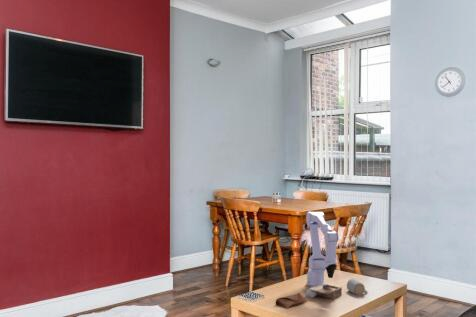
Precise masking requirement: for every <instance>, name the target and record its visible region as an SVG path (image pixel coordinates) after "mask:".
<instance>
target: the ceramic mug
mask: <svg viewBox="0 0 476 317" xmlns="http://www.w3.org/2000/svg"><path fill="white" fill-rule="evenodd" d="M346 289H347V291H348V292H350V293H352V294H354V295H356V296H360V295H363V294H367V293H368V290H367V289H366V287H365V285H364V283H362V282H361V281H359V280H358V279H356V278H350V279H348V281H347V282H346Z"/></svg>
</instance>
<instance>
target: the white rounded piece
mask: <svg viewBox="0 0 476 317" xmlns="http://www.w3.org/2000/svg"><path fill="white" fill-rule="evenodd" d="M315 287H316V286H311V287H310V288H307V289H306V290H305V296H306V297H308V298H311V299H313V298H315V297H317V296H319V295H318V294H319V292H314V291H311V289H313V288H315Z"/></svg>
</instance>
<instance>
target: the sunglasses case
mask: <svg viewBox="0 0 476 317" xmlns="http://www.w3.org/2000/svg"><path fill="white" fill-rule="evenodd" d="M307 302H309V301H308V300H307V299H306V298H305V297H304V296H303V295H302V294H301V293H300V292H298V293H295V294H290V295H288V296H283V297H278V298H277V299H276V300H275V306H278V307H281V308H284V309H286V310H289V309H291V308H293V307H294V308H295V307H297V306H300V305H305V303H307Z"/></svg>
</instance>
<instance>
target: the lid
mask: <svg viewBox="0 0 476 317" xmlns="http://www.w3.org/2000/svg"><path fill="white" fill-rule="evenodd" d="M329 285H330V284H328V283H324V285H323V286H321V285H319V286H317V287H316V286H314V287H315V288H313V289H311V291H314V292H319V293H323V294H328V295H329V294H330V293H332V292H334V291H336V290H337V289H335V288H330V287H329Z"/></svg>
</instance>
